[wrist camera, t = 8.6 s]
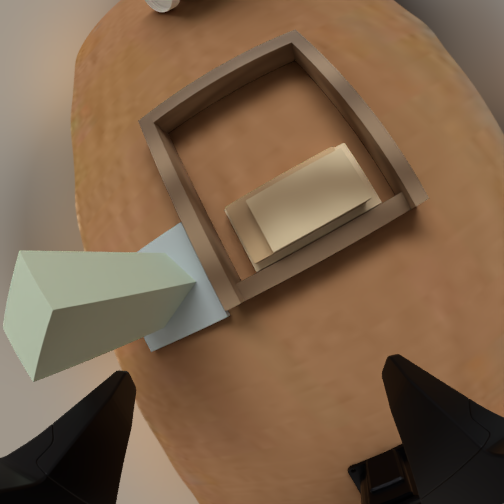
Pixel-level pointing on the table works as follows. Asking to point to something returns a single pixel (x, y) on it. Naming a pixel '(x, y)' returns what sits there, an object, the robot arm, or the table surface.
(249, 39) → the table surface
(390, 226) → the table surface
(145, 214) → the table surface
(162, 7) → the spread jar
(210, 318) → the tile
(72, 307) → the tall mint carton
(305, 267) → the brown wooden frame
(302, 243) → the offcut stack
